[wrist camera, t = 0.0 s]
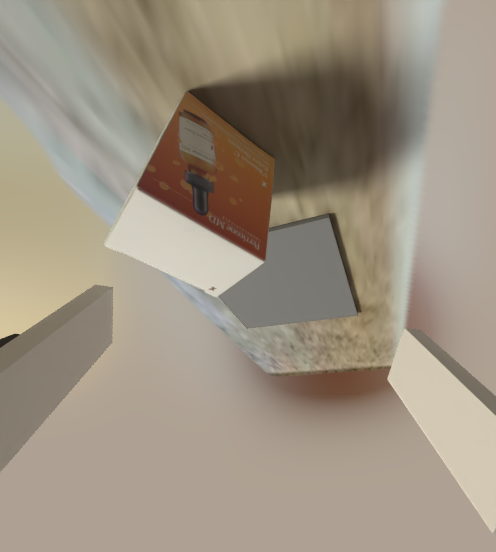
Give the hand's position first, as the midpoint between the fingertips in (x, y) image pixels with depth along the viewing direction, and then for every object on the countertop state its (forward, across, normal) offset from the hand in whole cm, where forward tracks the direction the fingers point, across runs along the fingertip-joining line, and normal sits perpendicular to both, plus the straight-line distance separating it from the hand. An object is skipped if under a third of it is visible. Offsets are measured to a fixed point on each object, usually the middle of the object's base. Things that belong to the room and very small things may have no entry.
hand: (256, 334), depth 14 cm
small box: (+13, -4, +8) cm, 16 cm away
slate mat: (+22, +4, -5) cm, 23 cm away
